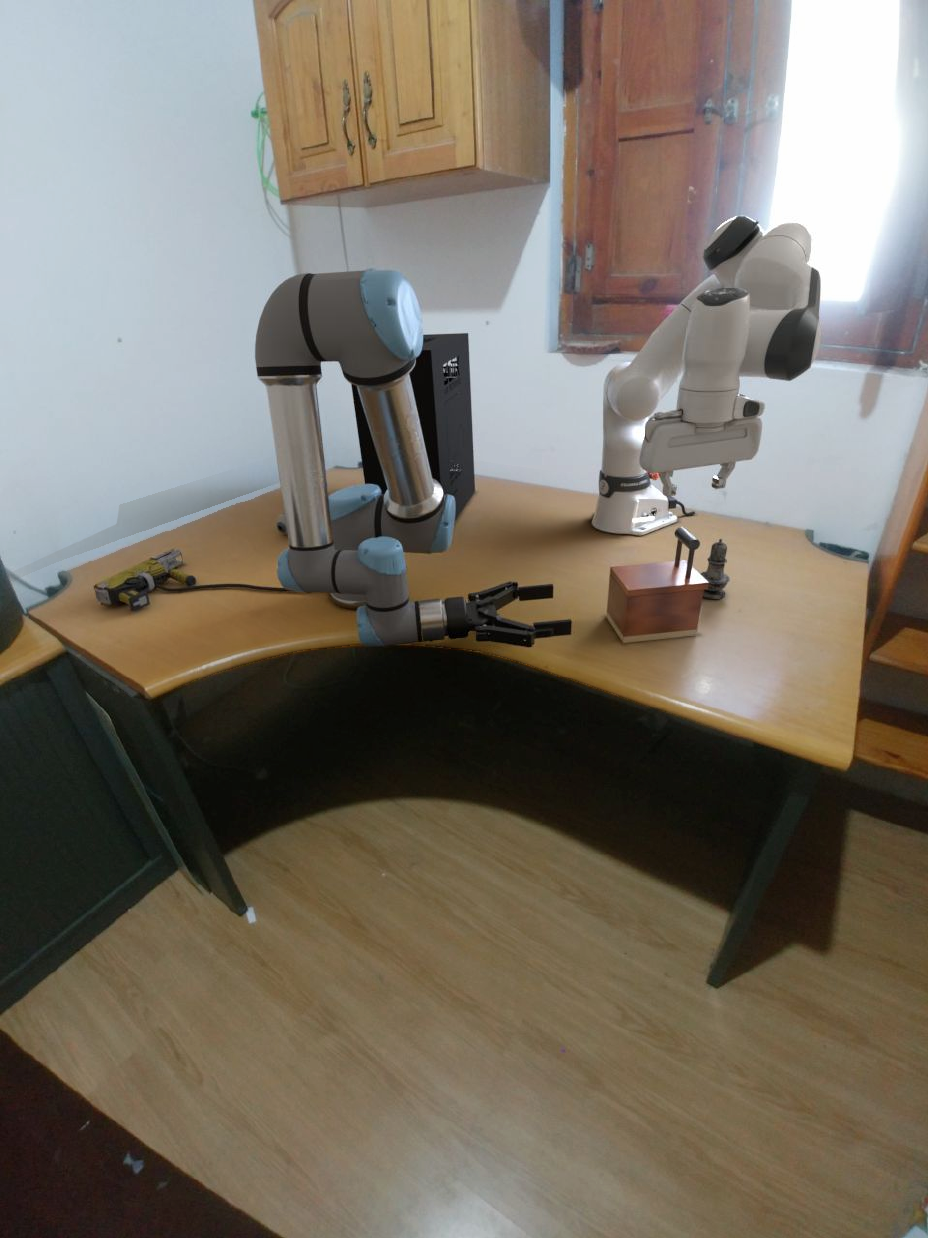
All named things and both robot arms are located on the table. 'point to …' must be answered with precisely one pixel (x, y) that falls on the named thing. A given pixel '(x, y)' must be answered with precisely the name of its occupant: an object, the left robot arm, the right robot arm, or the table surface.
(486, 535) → the table surface
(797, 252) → the right robot arm
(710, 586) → the grey chess piece
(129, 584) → the toy gun
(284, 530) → the eyeball
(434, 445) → the cardboard box
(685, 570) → the lid
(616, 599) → the chest
